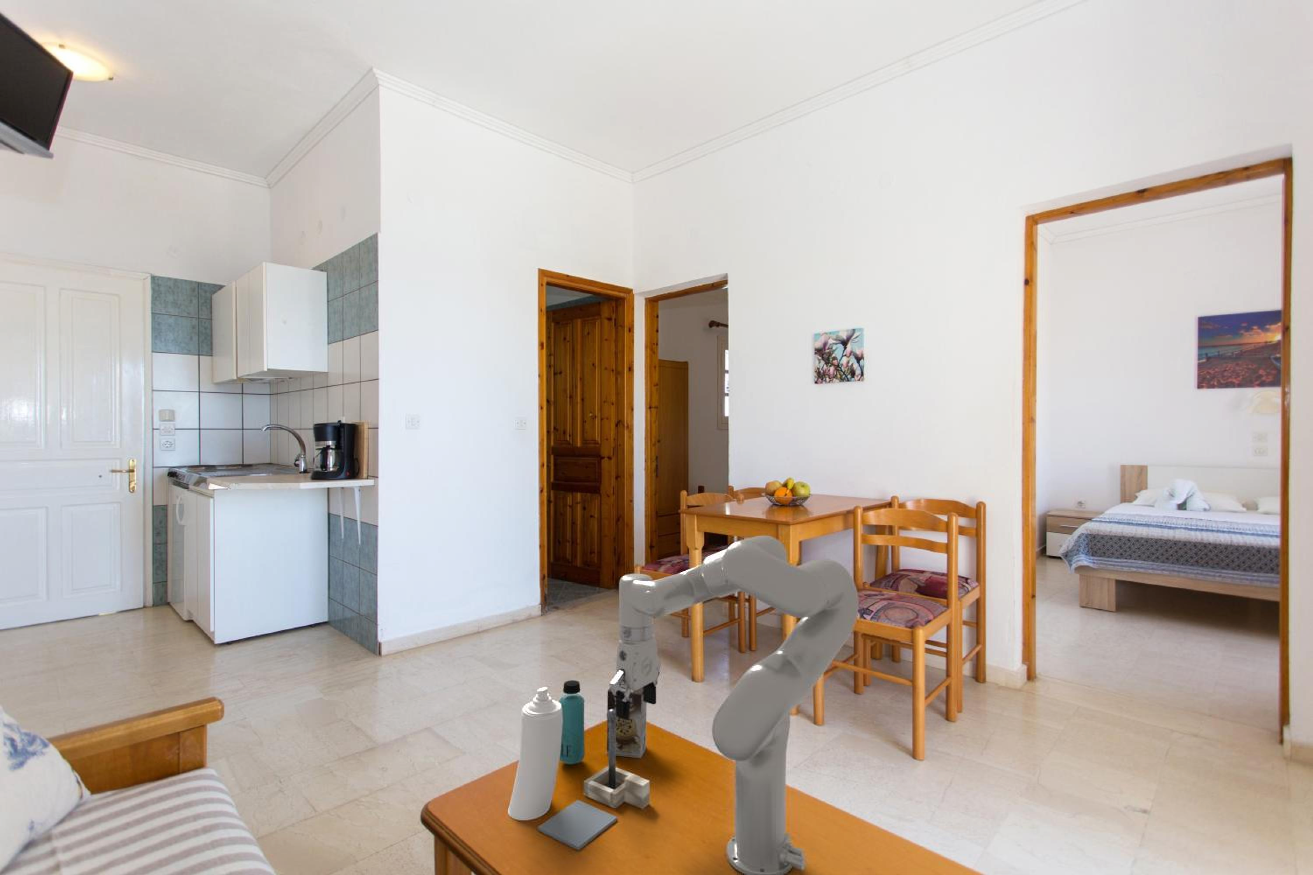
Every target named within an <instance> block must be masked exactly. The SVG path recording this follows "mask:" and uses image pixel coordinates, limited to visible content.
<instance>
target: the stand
mask: <svg viewBox="0 0 1313 875" xmlns="http://www.w3.org/2000/svg"><path fill="white" fill-rule="evenodd" d="M617 718H618V717H617V716H616V710H615V709H610V710H609V711H608V712H606V719H608V720H609V754H608V765H609V782H608V783H605V784H603V785H604V786H606V787H608V788H611V789H613V790H615V789H616V788H618V787H619V786H620V785H622V784H620V783H618V782H616V767H617V765H616V764H617V763H616V762H617V760H616V758H617V755H616V719H617Z"/></svg>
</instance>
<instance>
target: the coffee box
mask: <svg viewBox="0 0 1313 875" xmlns="http://www.w3.org/2000/svg"><path fill="white" fill-rule="evenodd" d="M626 685H627V684H626ZM625 690H626V689H622V693H623V694H624V693H625ZM627 700H629V702H630V718H629V719H628V720H625V719H622V718H617V719H616V757H617V756H618V757H619V756H620V757H626V758H627V757H628V758H635V759H641V758H642V757H643V754H644V753H645V751H646V749H647V704H648V703H647V702H644V701H643V687H642V688H640V689H638V690H636V691H633V690H631V692H630V694H629V697H628V699H627ZM606 702H607V707H606V708H607V709H606V710H607V712H608V711H609V710H610V709H615V710H616V699H614V696H613V695H612V691H611V689H610V687H609V688H608V690H607V701H606ZM607 712H606V713H607ZM606 719H607V718H606ZM606 722H607V723H606V754H607V755H609V720H608V719H607V720H606Z"/></svg>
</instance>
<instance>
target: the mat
mask: <svg viewBox="0 0 1313 875" xmlns="http://www.w3.org/2000/svg"><path fill="white" fill-rule="evenodd" d="M617 821H618V817H617V816H615V815H614V814H611V813H608V812H607V811H604V810H602V809H599V808H597V807H595V806H592V805H590V804H589V803H586V802H584V801H581V800H579V799H576V801H574V802H572V803H571V804H569V805H568V806H566V807H565V808H564V809H562V810H560V811H559V812H558V813H556V814H555V815H553V816H552V817H550V818H549V819H547V820H546V821H545V822H543V823H542V824H540V825H539V826H537V830H538V831H539V832H541V833H543V834H545V835H546V836H548V837H551V838H553V839H554V840H557V841H559V842H560V843H563V844H565V845H567V846H568V847H571V848H573V849H575V850H577V851H580V850H581V849H582V848H583V847H585V846H586V845H587V844H588V843H590V842H591V841H592V840H593V839H594V838H597V837H598V835H600V834H601V833H603V832H604V831H605V830H606V829H608V828H609V827H610V826H612V825H613V824H614V823H615V822H617Z"/></svg>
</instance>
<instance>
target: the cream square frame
mask: <svg viewBox="0 0 1313 875" xmlns="http://www.w3.org/2000/svg"><path fill="white" fill-rule="evenodd" d="M608 782H609V764H608V765H607V766H605V767H604V768H602V769H601V770H599V771H598V772H596V773H594V774H593V775H592V776H590V777H588V778H586V780H584V781H583V796H585V797H588V798H590V799H592V800H594V801H597V802H598V803H601V804H604V805H605V806H608V807H611V808H613V809H616V808H618V807H619V806H620V805H622V804H623V803H624V802H625V803H628V804H630V805H632V806H635V807H637V808H640V809H641V810H644V809H645V808H646V807H647V806H649V805H650V780H648V779H647V778H646V779H645V778H643V777H641V776H639V775H637V774H634V773H632V772H629V771H627V770H625V769H621V768H619V767H617V766H616V782H618V783H620V784H622V785H620V786H619V787H618V788H616V789H615V790H613V789H611V788H608V787H606V786H604V785H603V784H605V783H608Z"/></svg>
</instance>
